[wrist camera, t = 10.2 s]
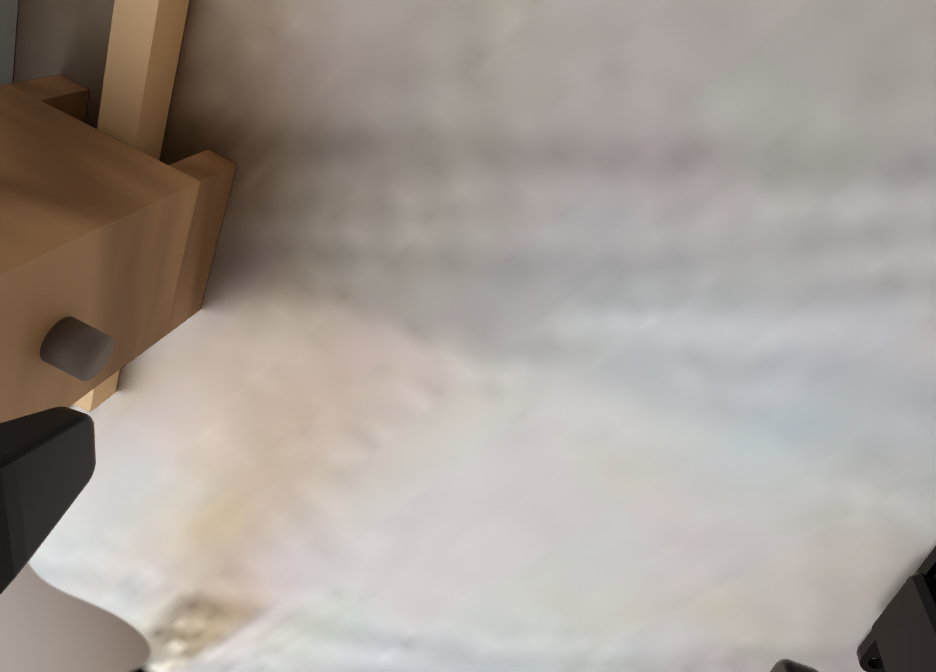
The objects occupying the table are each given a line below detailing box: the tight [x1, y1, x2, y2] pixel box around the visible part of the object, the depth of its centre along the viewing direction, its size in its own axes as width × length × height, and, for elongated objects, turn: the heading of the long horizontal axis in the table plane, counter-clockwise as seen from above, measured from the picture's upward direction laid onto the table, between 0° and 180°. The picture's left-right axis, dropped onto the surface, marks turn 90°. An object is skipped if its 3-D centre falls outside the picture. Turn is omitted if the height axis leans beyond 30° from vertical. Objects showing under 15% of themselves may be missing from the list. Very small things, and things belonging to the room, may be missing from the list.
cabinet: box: [0, 75, 237, 423], centre depth 19 cm, size 7×6×10 cm
